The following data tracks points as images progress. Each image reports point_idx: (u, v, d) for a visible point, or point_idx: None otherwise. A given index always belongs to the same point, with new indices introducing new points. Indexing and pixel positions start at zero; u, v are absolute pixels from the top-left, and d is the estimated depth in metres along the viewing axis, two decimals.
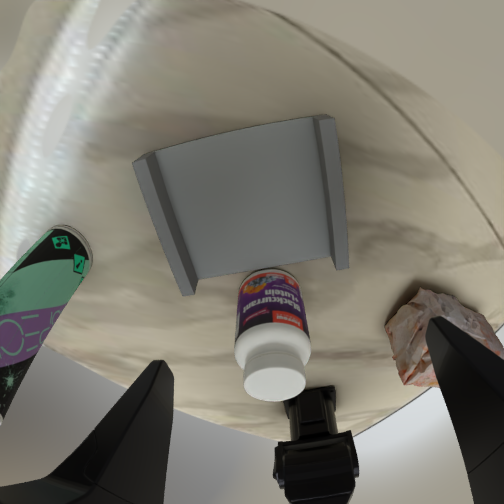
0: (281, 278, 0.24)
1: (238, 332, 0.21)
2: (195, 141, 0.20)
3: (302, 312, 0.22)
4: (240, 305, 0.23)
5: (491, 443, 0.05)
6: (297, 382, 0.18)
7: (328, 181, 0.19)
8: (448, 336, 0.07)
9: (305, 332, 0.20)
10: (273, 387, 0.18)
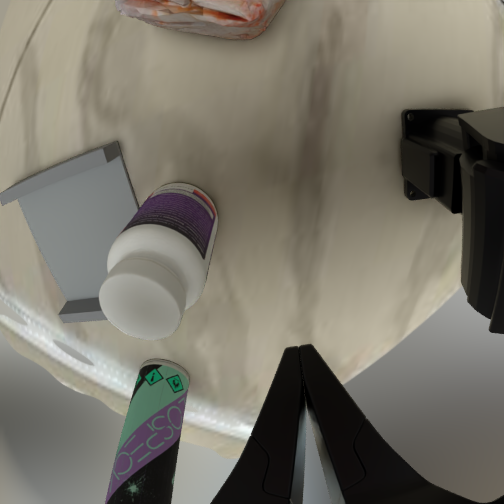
0: None
1: None
2: (53, 274, 0.24)
3: (136, 214, 0.16)
4: None
5: (334, 496, 0.05)
6: (123, 285, 0.12)
7: (32, 191, 0.17)
8: (305, 369, 0.08)
9: (121, 232, 0.15)
10: (141, 311, 0.13)
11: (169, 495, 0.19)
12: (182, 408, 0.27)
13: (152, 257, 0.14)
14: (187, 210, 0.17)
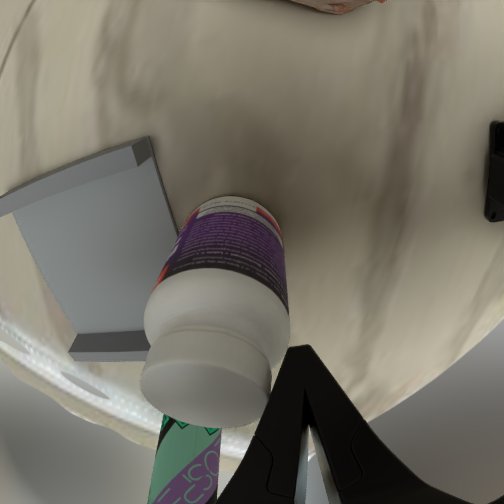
0: None
1: None
2: (59, 304, 0.19)
3: (182, 244, 0.12)
4: None
5: (331, 496, 0.05)
6: (184, 374, 0.08)
7: (30, 203, 0.13)
8: (302, 369, 0.08)
9: (166, 277, 0.10)
10: (208, 403, 0.08)
11: None
12: (218, 450, 0.22)
13: (223, 323, 0.09)
14: (258, 241, 0.12)
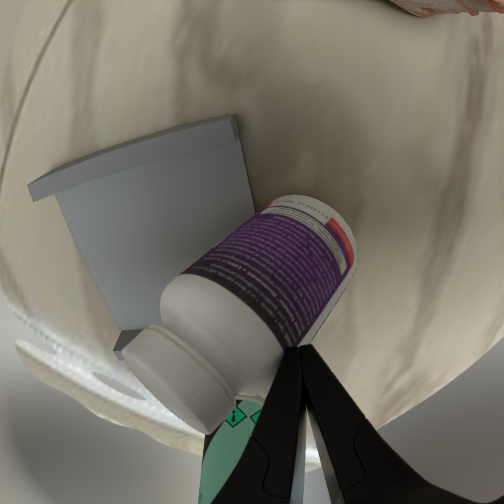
0: None
1: None
2: (104, 297, 0.19)
3: (225, 240, 0.12)
4: None
5: (334, 495, 0.05)
6: (141, 369, 0.08)
7: (89, 180, 0.13)
8: (305, 369, 0.08)
9: (183, 272, 0.10)
10: (165, 399, 0.09)
11: None
12: None
13: (200, 341, 0.09)
14: (297, 263, 0.10)
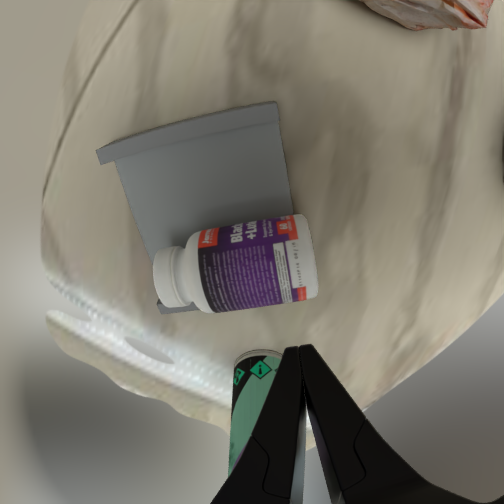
0: (282, 218, 0.18)
1: None
2: (150, 256, 0.23)
3: (236, 247, 0.17)
4: None
5: (334, 495, 0.05)
6: None
7: (158, 146, 0.16)
8: (305, 369, 0.08)
9: (199, 251, 0.18)
10: None
11: None
12: None
13: (184, 288, 0.18)
14: (249, 297, 0.18)
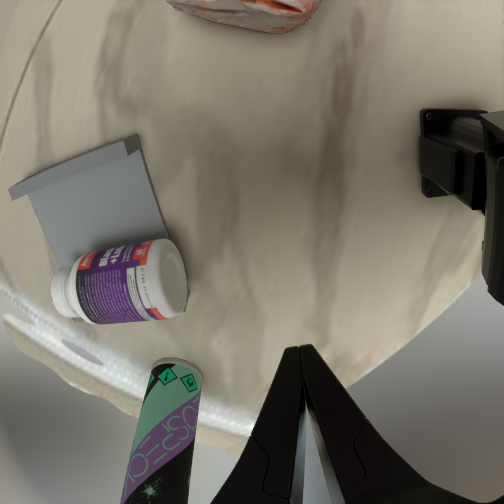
0: (142, 244, 0.19)
1: None
2: None
3: (101, 270, 0.18)
4: None
5: (334, 495, 0.05)
6: None
7: (45, 185, 0.17)
8: (305, 369, 0.08)
9: (77, 273, 0.18)
10: None
11: (186, 496, 0.18)
12: (196, 408, 0.26)
13: (72, 303, 0.19)
14: (114, 313, 0.19)
